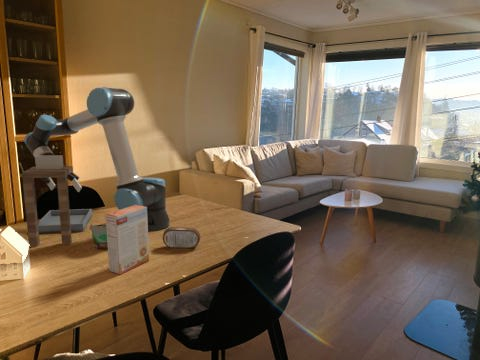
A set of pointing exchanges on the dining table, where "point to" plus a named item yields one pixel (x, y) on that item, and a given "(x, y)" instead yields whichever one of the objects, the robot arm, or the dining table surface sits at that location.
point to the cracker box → (127, 238)
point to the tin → (181, 237)
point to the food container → (99, 236)
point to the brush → (49, 161)
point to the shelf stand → (31, 202)
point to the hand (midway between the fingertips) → (67, 188)
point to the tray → (77, 221)
